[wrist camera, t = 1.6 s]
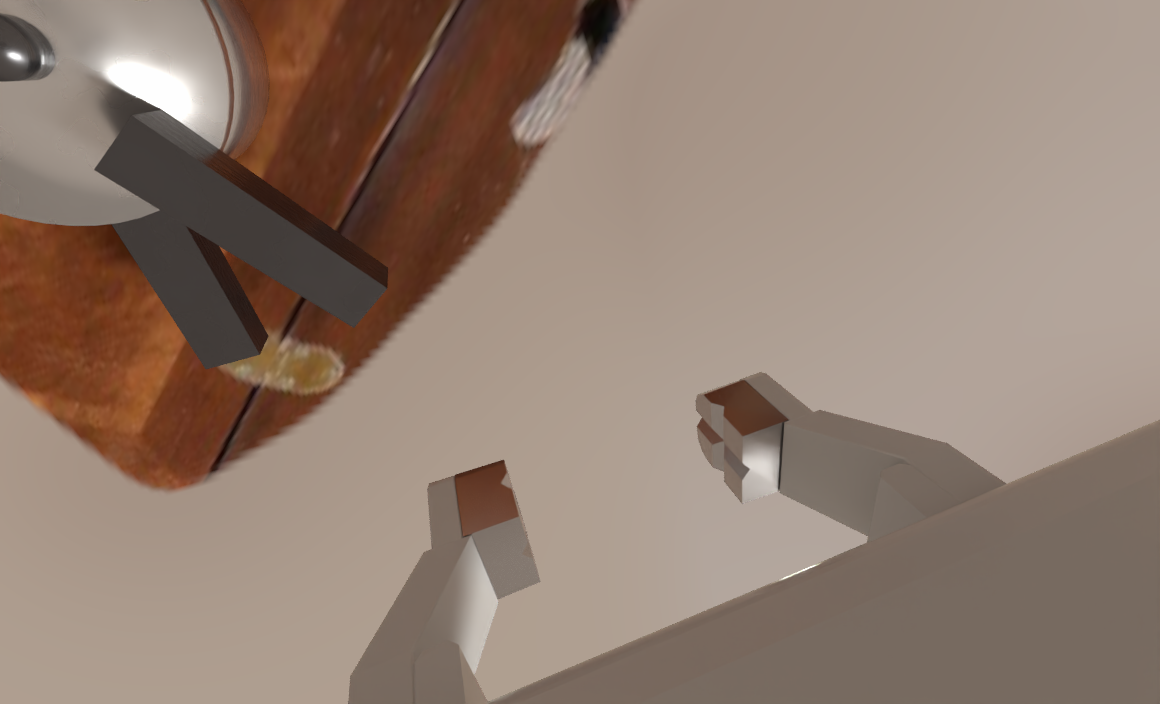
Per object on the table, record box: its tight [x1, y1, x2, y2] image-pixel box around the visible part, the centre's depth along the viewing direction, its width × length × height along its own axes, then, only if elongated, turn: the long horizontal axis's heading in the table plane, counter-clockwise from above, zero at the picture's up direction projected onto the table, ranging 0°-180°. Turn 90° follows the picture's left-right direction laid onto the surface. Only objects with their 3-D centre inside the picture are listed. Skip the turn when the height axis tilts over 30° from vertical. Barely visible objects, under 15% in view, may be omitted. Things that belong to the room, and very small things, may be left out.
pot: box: [112, 0, 270, 369], centre depth 24 cm, size 23×12×8 cm, turn 10°
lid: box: [0, 0, 388, 327], centre depth 19 cm, size 20×12×4 cm, turn 45°
